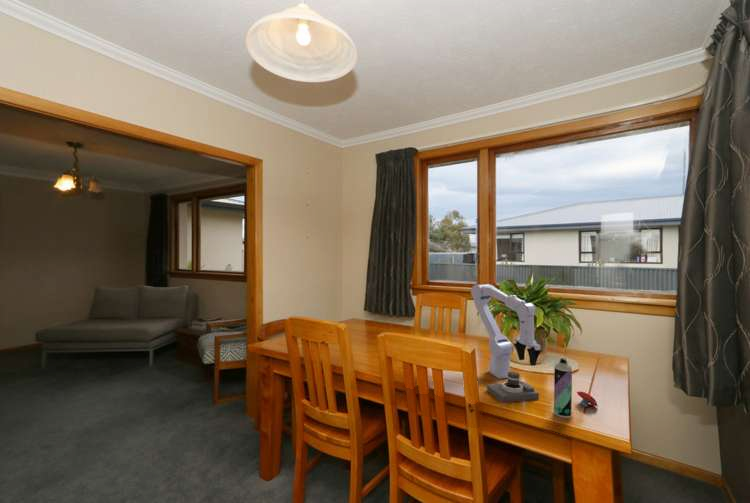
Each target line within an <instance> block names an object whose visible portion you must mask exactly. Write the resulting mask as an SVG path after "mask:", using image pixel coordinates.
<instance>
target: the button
mask: <svg viewBox="0 0 750 503" xmlns="http://www.w3.org/2000/svg"><path fill="white" fill-rule="evenodd" d="M576 394H577V395H578V397H580V398H581V399H582V400H580V405H581V406H582V407H585V408H587V407H588V405H589V404H590V405H592V406H595V407H597V408H598V402H597V401H596V400H595V398H594V397H593V396H591V395H590V394H588V393H587V392H584V391H576Z"/></svg>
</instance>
